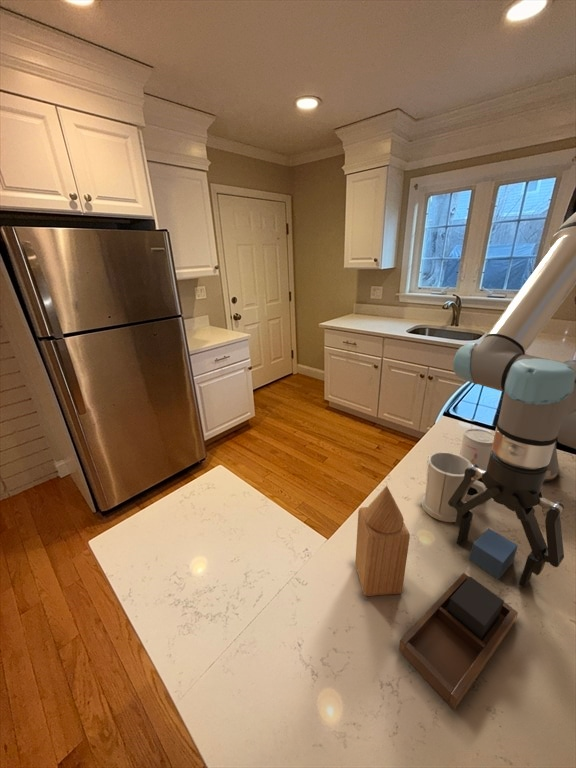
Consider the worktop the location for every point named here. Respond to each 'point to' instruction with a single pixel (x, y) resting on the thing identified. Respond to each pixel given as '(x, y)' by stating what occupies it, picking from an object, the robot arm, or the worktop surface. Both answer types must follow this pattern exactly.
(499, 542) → the slate blue block
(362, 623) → the worktop surface
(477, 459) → the beverage can
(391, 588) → the decorative item
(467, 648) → the holder
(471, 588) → the dark grey block
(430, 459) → the cup
